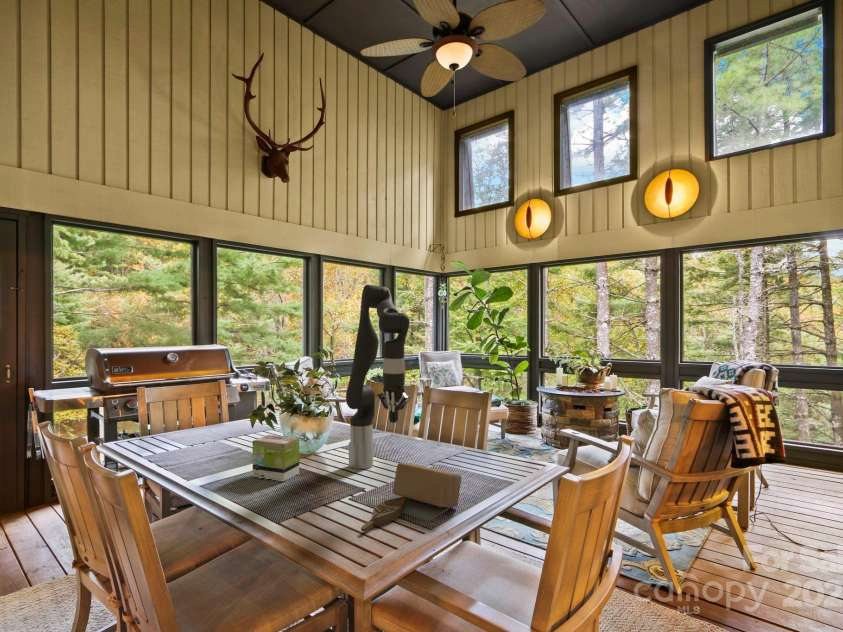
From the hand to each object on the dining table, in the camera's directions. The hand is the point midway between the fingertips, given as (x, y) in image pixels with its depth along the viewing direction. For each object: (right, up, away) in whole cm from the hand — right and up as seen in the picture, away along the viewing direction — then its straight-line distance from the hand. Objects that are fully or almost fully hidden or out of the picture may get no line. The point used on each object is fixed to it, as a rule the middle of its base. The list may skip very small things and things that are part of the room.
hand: (393, 422), depth 154 cm
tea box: (-47, -27, +22) cm, 58 cm away
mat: (+8, -25, -8) cm, 28 cm away
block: (+3, -19, -1) cm, 19 cm away
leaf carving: (-2, -25, -18) cm, 31 cm away
